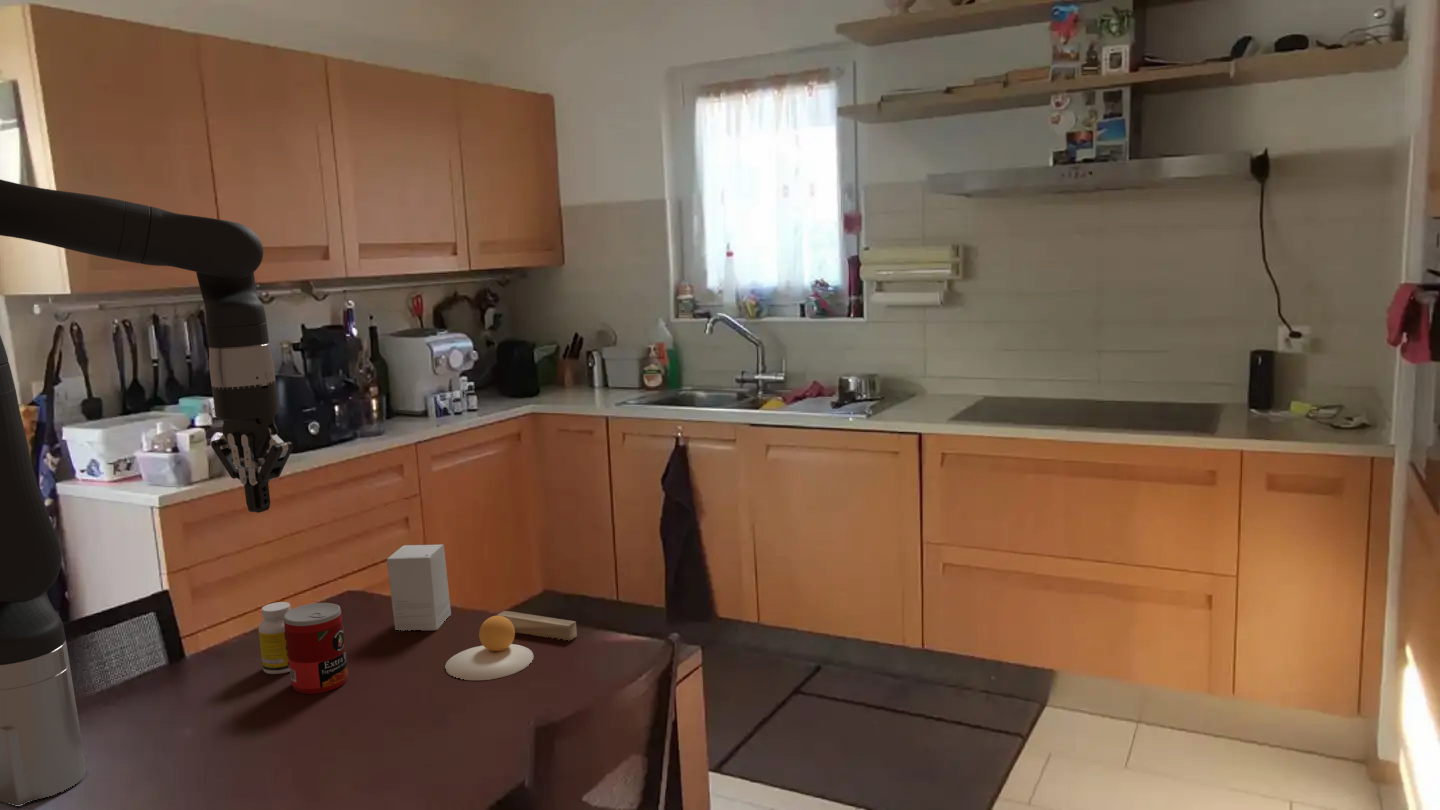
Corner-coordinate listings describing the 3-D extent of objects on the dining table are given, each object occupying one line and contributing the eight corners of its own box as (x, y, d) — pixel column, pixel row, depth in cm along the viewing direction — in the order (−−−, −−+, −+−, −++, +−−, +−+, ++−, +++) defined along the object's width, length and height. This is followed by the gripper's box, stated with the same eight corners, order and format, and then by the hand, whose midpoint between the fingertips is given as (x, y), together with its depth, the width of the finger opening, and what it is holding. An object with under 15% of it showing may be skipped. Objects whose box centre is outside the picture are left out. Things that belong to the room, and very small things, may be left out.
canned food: (330, 696, 147) (322, 622, 145) (280, 693, 149) (271, 620, 147) (359, 673, 155) (351, 602, 153) (311, 671, 156) (302, 601, 154)
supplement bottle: (292, 674, 155) (285, 612, 154) (256, 676, 155) (249, 613, 154) (307, 659, 161) (300, 599, 159) (272, 661, 161) (265, 600, 159)
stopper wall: (569, 641, 163) (568, 625, 163) (498, 629, 170) (496, 614, 169) (576, 636, 165) (575, 621, 165) (505, 625, 171) (504, 610, 171)
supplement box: (452, 614, 177) (445, 543, 175) (436, 631, 170) (429, 557, 168) (410, 615, 178) (403, 543, 176) (393, 631, 171) (385, 557, 169)
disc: (497, 686, 148) (497, 684, 148) (426, 672, 154) (426, 671, 154) (550, 651, 160) (550, 650, 160) (482, 640, 165) (482, 638, 165)
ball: (505, 661, 158) (498, 631, 156) (476, 655, 161) (468, 627, 158) (524, 639, 163) (517, 611, 161) (495, 635, 165) (488, 606, 163)
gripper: (182, 383, 133) (200, 514, 136) (255, 386, 127) (271, 523, 130) (232, 374, 140) (248, 500, 143) (303, 377, 134) (318, 507, 137)
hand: (259, 510), depth 136 cm, fingers closed
